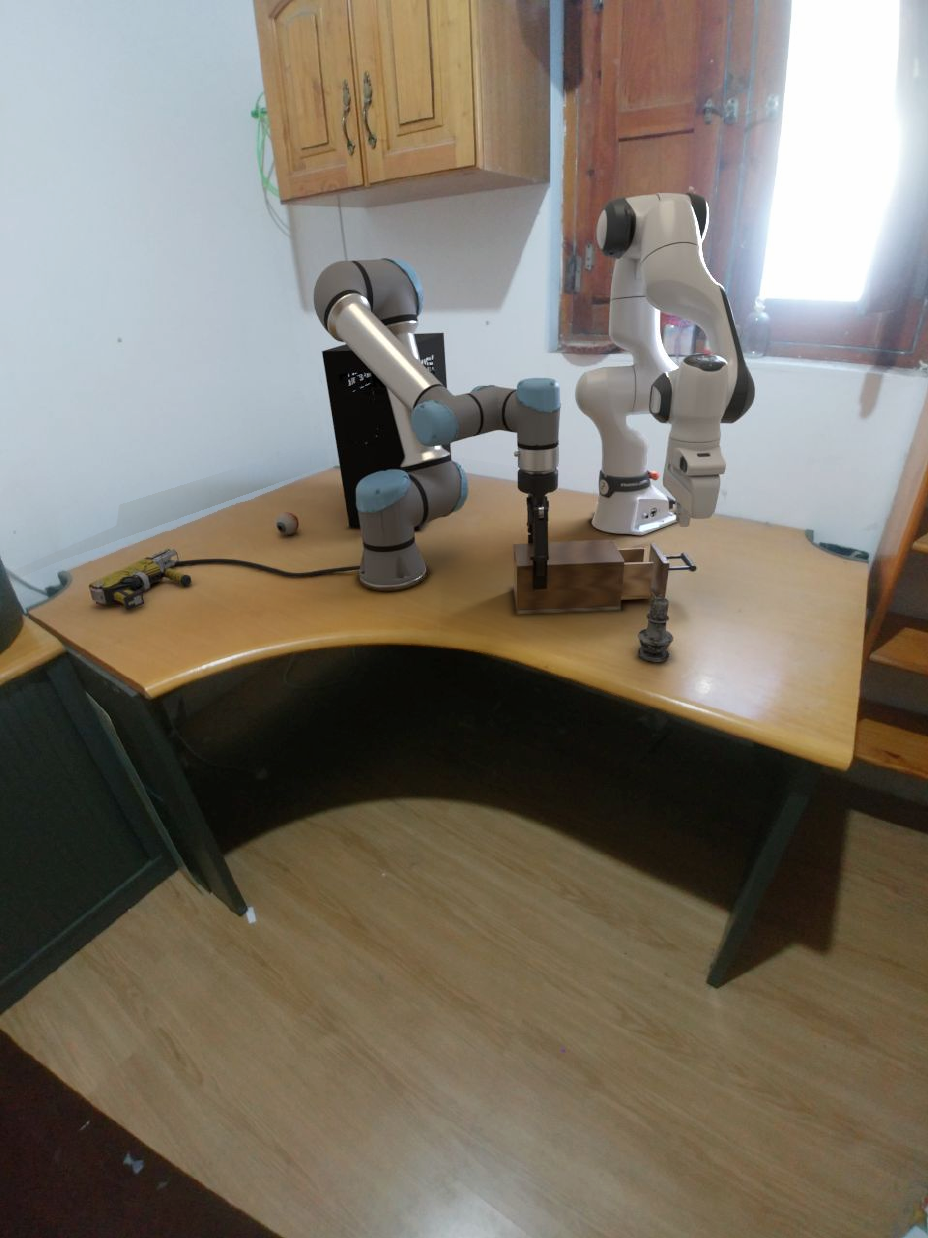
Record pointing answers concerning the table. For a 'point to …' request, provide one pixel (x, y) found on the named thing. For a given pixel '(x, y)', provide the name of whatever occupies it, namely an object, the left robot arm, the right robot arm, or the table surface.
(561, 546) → the brown wooden box
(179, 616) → the table surface
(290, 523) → the eyeball
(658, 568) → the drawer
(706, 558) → the table surface
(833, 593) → the table surface
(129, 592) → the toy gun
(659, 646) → the stone chess piece
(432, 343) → the black piece
